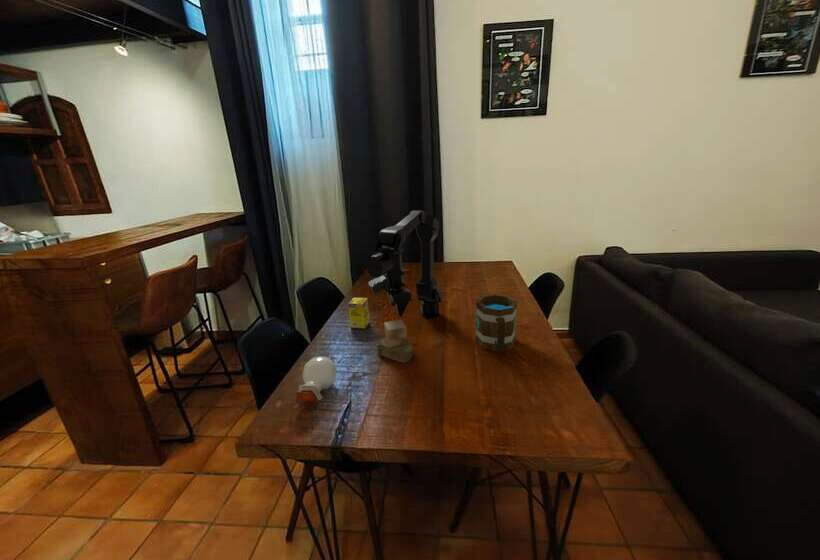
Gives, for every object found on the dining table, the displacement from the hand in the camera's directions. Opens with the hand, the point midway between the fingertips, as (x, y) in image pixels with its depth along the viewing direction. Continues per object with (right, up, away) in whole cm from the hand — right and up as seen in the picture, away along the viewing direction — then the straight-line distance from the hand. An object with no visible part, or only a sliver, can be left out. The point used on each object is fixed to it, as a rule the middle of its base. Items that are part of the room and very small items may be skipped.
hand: (396, 310), depth 118 cm
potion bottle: (-21, -21, -21) cm, 37 cm away
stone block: (0, -15, -4) cm, 15 cm away
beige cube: (0, -9, -5) cm, 11 cm away
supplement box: (-15, -8, +17) cm, 24 cm away
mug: (+34, -12, -2) cm, 36 cm away
